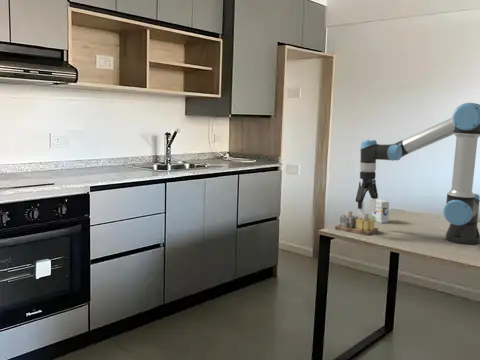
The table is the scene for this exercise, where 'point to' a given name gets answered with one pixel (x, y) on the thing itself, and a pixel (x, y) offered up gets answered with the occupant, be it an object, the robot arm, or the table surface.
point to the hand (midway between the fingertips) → (366, 213)
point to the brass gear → (365, 224)
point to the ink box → (381, 211)
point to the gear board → (353, 224)
